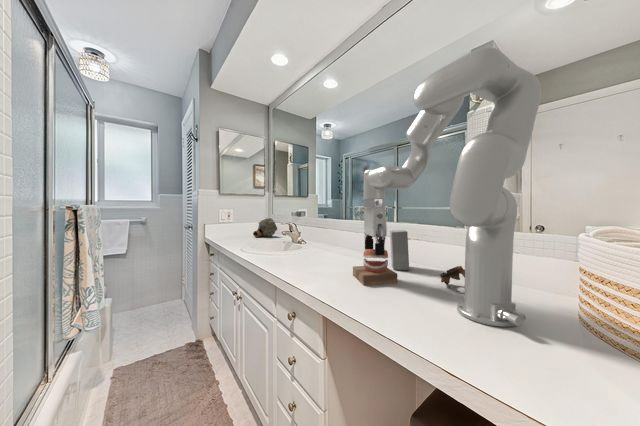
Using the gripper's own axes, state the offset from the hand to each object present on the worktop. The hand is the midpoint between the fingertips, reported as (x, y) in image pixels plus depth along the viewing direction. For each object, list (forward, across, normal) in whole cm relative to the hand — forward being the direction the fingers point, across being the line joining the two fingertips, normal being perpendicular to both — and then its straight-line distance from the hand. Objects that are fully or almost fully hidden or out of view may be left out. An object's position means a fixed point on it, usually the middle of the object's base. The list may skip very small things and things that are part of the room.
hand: (374, 252), depth 89 cm
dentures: (+7, -1, 0) cm, 7 cm away
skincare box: (+10, +12, -16) cm, 22 cm away
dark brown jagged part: (+10, -14, -24) cm, 29 cm away
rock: (+10, +121, +45) cm, 129 cm away
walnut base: (+10, 0, 0) cm, 10 cm away
